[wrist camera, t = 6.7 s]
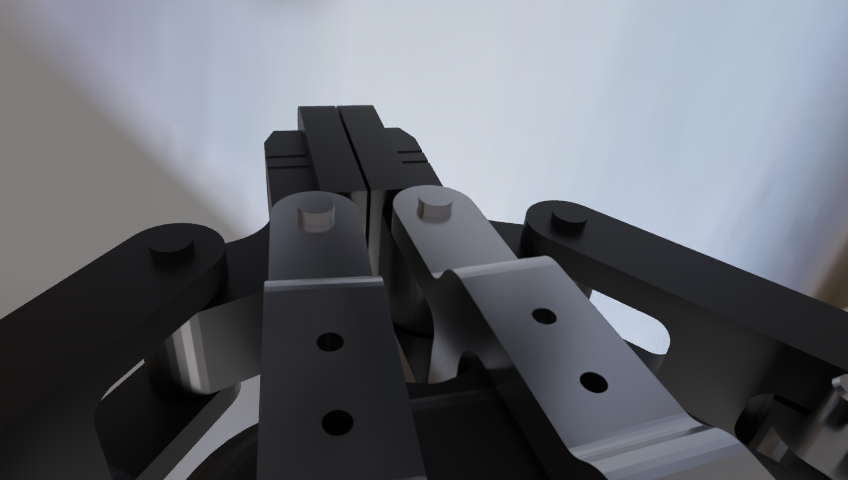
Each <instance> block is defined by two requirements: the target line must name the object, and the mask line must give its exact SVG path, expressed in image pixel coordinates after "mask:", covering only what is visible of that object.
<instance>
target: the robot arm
mask: <svg viewBox="0 0 848 480" xmlns="http://www.w3.org/2000/svg"><path fill="white" fill-rule="evenodd" d="M264 149H265V165H266V180H267V196H268V211H269V219H270V220H269V222H268V223H267V224H266V225H265V226H264V227H263V228H262V229H261V230H259V231H258V232H256V233H254V234H252V235H250V236H248V237H246V238H243V239H240V240H236V241H233V242H229V243H225V242H224V239H223V238H222V236H221V235H220V234H219V233H217V232H216V231H214V230H213V229H211V228H208V227H206V226H202V225H198V224H191V223H174V224H165V225H160V226H156V227H153V228H149V229H147V230H144V231H142V232H140V233H138V234H136V235H134V236H132V237H131V238H129V239H127V240H126V241H124V242H123V243H121V244H120V245H118V246H116V247H115V248H113V249H112V250H110V251H108V252H107V253H105V254H104V255H102V256H100V257H99V258H97V259H96V260H94V261H93V262H91V263H89V264H88V265H86V266H85V267H83V268H81V269H80V270H78V271H77V272H75V273H74V274H72V275H70V276H69V277H67V278H66V279H64V280H63V281H61V282H59V283H58V284H56V285H55V286H53V287H51V288H50V289H48V290H46V291H45V292H43V293H42V294H40V295H39V296H37V297H35V298H34V299H32V300H31V301H29V302H28V303H26V304H24V305H23V306H21V307H20V308H18V309H16V310H15V311H13V312H12V313H10V314H8V315H7V316H5V317H4V318H2V319H0V480H163V479H164V478H165V477H166V476H167V475H168V474H169V473H170V472H171V471H172V470H173V468H174V467H175V466H176V465H177V464H178V463H179V462H180V461H181V460H182V459H183V457H184V456H185V455H186V454H187V453H188V452H189V451H190V450H191V449H192V447H193V446H194V445H195V444H196V443H197V442H198V441H199V440H200V439H201V437H202V436H203V435H204V434H205V433H206V432H207V431H208V430H209V429H210V428H211V427H212V425H213V424H214V423H215V422H216V421H217V420H218V419H219V418H220V417H221V415H222V414H223V413H224V412H225V411H226V410H227V409H228V408H229V406H231V404H232V403H233V402H234V400H235V399H236V398H237V396H238V394H239V392H240V388H241V382H242V381H245V380H247V379H250V378H252V377H255V376H257V375H260V374H261V376H260V401H259V423H257V424H255V425H253V426H251V427H249V428H247V429H245V430H243V431H242V432H241V433H239V434H237V435H235V436H234V437H232V438H231V439H229V440H228V441H226V442H225V443H224V444H223V445H221V446H220V447H219V448H217V449H216V450H215V451H214V452H213V453H211V454H210V455H209V456H208V457H207V458H206V459H205V460H204V461H203V462H202V463H201V464H200V465H199V466H198V467H197V468H196V469H195V470H194V471H193V472H192V473H191V474H190V476H189V477H188V478H187V479H186V480H848V312H846V311H844V310H842V309H839V308H837V307H834V306H832V305H829V304H827V303H824V302H822V301H819V300H817V299H814V298H812V297H809V296H807V295H804V294H802V293H799V292H797V291H794V290H792V289H789V288H787V287H784V286H782V285H779V284H777V283H774V282H772V281H769V280H767V279H764V278H762V277H759V276H757V275H754V274H752V273H749V272H747V271H744V270H742V269H739V268H737V267H734V266H732V265H729V264H727V263H725V262H722V261H720V260H717V259H715V258H712V257H710V256H707V255H705V254H702V253H700V252H697V251H695V250H692V249H690V248H687V247H685V246H682V245H680V244H677V243H675V242H672V241H670V240H667V239H665V238H662V237H660V236H657V235H655V234H652V233H650V232H647V231H645V230H642V229H640V228H637V227H635V226H632V225H630V224H627V223H625V222H622V221H620V220H617V219H615V218H612V217H610V216H608V215H605V214H603V213H600V212H598V211H595V210H593V209H590V208H588V207H585V206H582V205H579V204H576V203H572V202H567V201H558V200H550V201H543V202H539V203H536V204H534V205H532V206H531V207H530V208H529V209H528V210H527V212H526V216H525V221H524V225H522V224H514V223H505V222H497V221H491V220H487V219H486V217H485V216H484V215H483V214H482V212H481V211H480V210H479V209H478V207H477V206H476V205H475V203H474V202H473V201H472V200H471V199H470V198H469V197H467V196H466V195H465V194H463V193H461V192H459V191H456V190H454V189H450V188H447V187H443V185H442V184H441V182H440V180H439V179H438V177H437V175H436V173H435V172H434V170H433V168H432V167H431V165H430V163H428V160H427V158H426V156H425V155H424V153H422V150H421V148H420V146H419V144H418V143H417V141H416V139H415V138H414V137H412V136H411V135H409V134H408V133H406V132H405V131H403V130H402V129H400V128H384V126H383V124H382V122H381V120H380V118H379V116H378V114H377V112H376V110H375V108H374V106H373V105H350V106H337V107H335V106H299V107H298V130H293V131H273V132H272V134H271V135H270V136H269V137H268V139H267V140H266V141H265V142H264ZM592 290H596V291H598V292H600V293H602V294H604V295H606V296H608V297H611V298H613V299H615V300H617V301H619V302H621V303H623V304H626V305H628V306H630V307H632V308H634V309H636V310H638V311H641V312H643V313H645V314H647V315H649V316H651V317H653V318H655V319H657V320H658V321H660V322H661V323H662V324H663V325H664V326H665V328H666V329H667V331H668V333H669V336H670V346H669V348H668V351H667V353H666V354H663V355H659V354H654V353H651V352H648V351H646V350H644V349H642V348H640V347H638V346H636V345H634V344H632V343H630V342H628V341H626V340H624V339H622V338H621V336H620V335H619V334H618V333H617V332H616V331H615V329H614V328H613V327H612V326H611V325H610V324H609V322H608V321H607V320H606V319H605V318H604V317H603V315H602V314H601V313H600V312H599V311H598V310H597V309H596V307H595V306H594V305H593V304H592V303H591V302H590V300H589V299H590V296H591V293H592ZM143 359H144V362H145V363H144V364H143V365H142V366H141V367H140V368H138V369H137V370H136V371H135V372H134V373H132V374H131V375H130V376H129V377H128V378H127V379H126V380H124V381H123V382H122V383H121V384H120V385H119V386H117V387H116V388H115V389H114V390H113V391H112V392H111V393H109V394H108V395H107V396H106V397H105V398H103V399H102V397H103V396H104V395H105V393H106V392H107V391H108V390H109V388H110V387H111V386H112V385H113V384H115V383H116V382H117V381H118V380H119V379H120V378H121V377H123V376H124V375H125V374H126V373H127V372H129V371H130V370H131V369H132V368H133V367H134V366H136V365H137V364H138V363H139V362H140V361H141V360H143ZM101 399H102V400H101Z"/></svg>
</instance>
